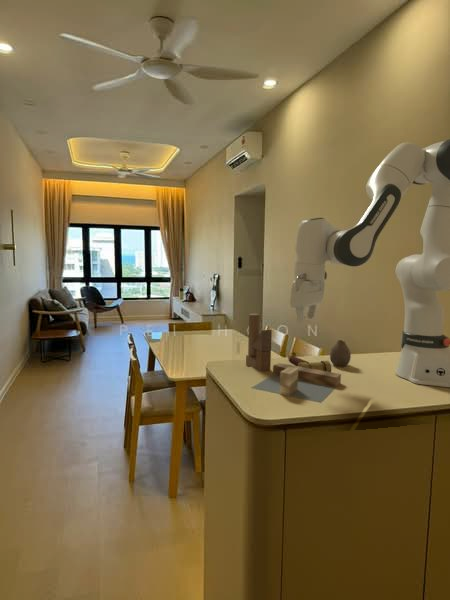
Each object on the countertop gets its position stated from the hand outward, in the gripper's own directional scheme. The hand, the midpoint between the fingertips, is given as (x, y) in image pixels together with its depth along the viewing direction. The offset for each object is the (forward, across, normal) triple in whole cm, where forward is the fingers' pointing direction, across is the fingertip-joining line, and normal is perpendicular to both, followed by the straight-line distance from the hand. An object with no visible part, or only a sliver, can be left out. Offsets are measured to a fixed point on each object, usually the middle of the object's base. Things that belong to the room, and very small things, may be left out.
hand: (305, 320), depth 117 cm
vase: (+19, +24, -6) cm, 31 cm away
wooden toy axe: (+19, +5, +17) cm, 26 cm away
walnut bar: (+19, +1, -1) cm, 19 cm away
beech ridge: (+18, -13, 0) cm, 22 cm away
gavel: (+19, +15, +5) cm, 25 cm away
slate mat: (+19, -9, -1) cm, 21 cm away
